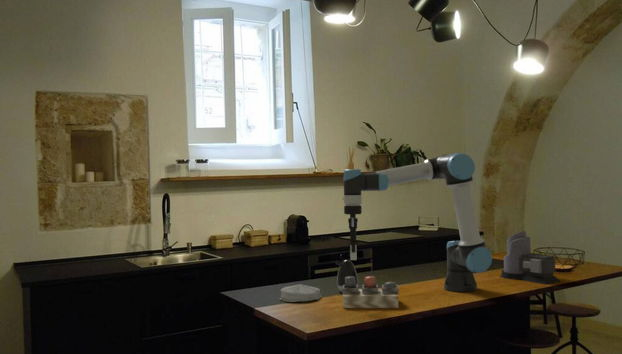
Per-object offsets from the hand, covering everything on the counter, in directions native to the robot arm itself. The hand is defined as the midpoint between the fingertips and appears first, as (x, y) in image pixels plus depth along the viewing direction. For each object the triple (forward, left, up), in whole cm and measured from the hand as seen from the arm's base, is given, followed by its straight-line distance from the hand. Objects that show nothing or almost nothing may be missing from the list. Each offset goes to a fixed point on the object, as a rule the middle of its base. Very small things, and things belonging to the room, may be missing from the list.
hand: (353, 259), depth 235 cm
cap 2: (-14, -7, -14) cm, 21 cm away
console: (-6, -3, -19) cm, 20 cm away
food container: (+28, 0, -20) cm, 34 cm away
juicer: (-54, -88, -20) cm, 105 cm away
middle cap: (-6, -3, -12) cm, 13 cm away
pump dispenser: (+15, -21, -19) cm, 32 cm away
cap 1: (+2, +1, -12) cm, 12 cm away
